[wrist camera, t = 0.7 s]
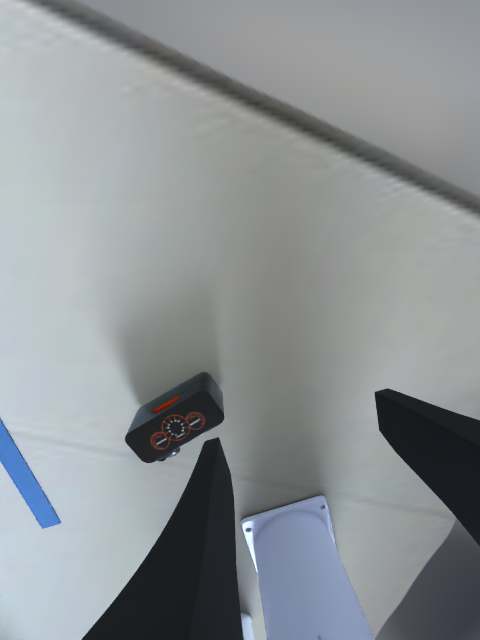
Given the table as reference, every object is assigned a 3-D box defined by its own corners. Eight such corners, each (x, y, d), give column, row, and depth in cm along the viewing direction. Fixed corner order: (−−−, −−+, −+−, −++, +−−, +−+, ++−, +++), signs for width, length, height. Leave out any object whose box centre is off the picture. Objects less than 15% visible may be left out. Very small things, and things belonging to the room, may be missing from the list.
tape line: (60, 522, 21) (60, 523, 21) (43, 527, 21) (42, 528, 21) (-26, 375, 18) (-27, 376, 18) (-48, 381, 18) (-49, 382, 17)
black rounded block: (126, 412, 19) (110, 443, 16) (206, 366, 19) (205, 387, 16) (161, 454, 21) (152, 490, 18) (237, 411, 20) (241, 439, 17)
